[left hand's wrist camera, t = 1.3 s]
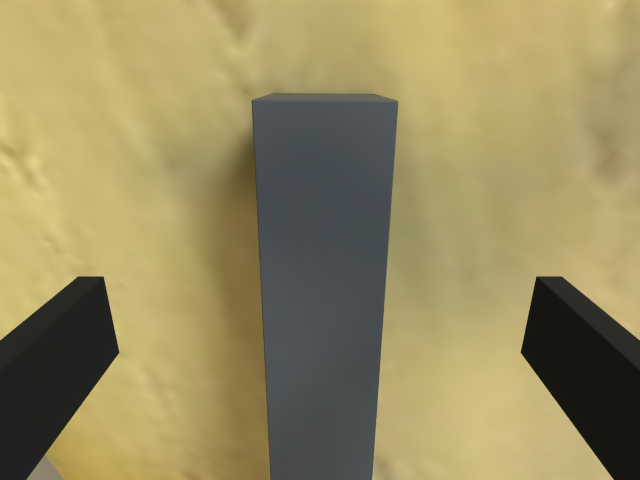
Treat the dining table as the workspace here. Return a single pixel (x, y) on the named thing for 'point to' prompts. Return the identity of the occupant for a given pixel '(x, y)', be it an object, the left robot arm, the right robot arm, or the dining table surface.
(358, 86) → the dining table surface
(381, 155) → the beam
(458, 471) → the dining table surface
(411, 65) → the dining table surface
